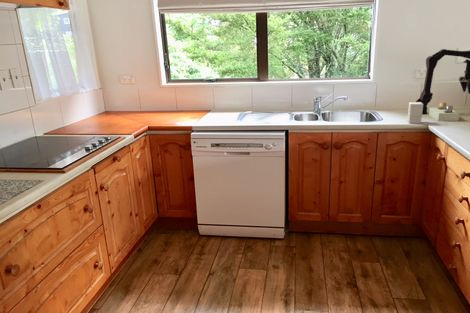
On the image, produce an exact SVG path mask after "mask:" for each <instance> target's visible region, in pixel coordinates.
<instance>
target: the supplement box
mask: <svg viewBox="0 0 470 313" xmlns="http://www.w3.org/2000/svg"><path fill="white" fill-rule="evenodd" d="M422 111H423V104H422V103H421V102H416V101H415V102H411V101H410V102H408V110H407V119H406V122H407V123H408V124H422V118H423V114H422Z"/></svg>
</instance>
